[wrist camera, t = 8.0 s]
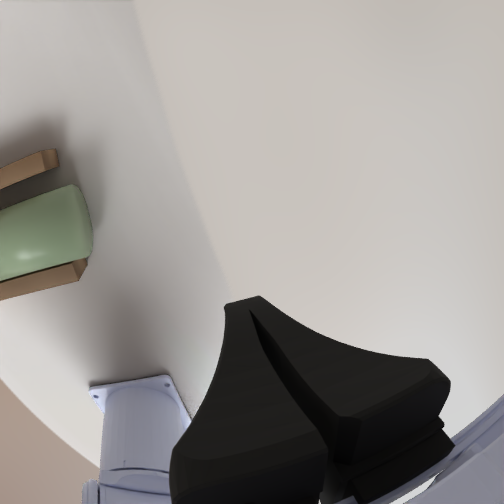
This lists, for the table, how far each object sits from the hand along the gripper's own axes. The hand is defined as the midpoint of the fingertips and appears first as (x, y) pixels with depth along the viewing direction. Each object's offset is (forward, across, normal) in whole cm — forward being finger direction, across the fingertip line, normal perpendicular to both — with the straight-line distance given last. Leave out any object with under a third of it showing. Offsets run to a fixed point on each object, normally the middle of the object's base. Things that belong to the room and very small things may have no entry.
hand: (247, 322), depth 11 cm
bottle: (+8, +8, -3) cm, 12 cm away
